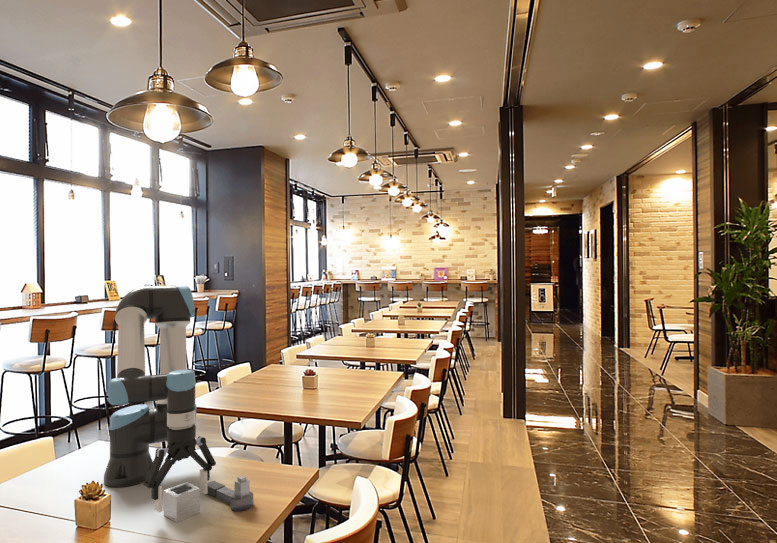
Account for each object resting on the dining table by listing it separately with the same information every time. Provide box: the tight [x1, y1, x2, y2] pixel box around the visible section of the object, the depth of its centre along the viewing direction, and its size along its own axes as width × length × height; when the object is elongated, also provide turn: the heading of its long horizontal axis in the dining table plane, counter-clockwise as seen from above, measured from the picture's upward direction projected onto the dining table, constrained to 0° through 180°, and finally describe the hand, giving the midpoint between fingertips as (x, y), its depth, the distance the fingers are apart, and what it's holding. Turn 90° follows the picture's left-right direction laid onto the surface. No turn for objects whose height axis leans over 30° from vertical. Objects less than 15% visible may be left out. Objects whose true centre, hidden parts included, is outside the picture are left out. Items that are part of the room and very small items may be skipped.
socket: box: [162, 481, 201, 523], centre depth 137 cm, size 7×7×7 cm
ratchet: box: [206, 475, 254, 512], centre depth 146 cm, size 20×6×8 cm, turn 53°
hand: (181, 501), depth 137 cm, fingers open, 13 cm apart
